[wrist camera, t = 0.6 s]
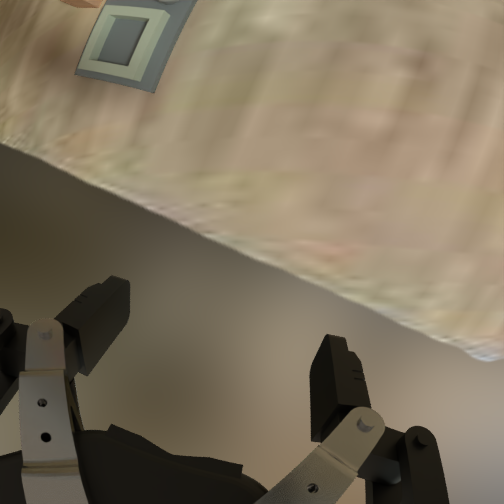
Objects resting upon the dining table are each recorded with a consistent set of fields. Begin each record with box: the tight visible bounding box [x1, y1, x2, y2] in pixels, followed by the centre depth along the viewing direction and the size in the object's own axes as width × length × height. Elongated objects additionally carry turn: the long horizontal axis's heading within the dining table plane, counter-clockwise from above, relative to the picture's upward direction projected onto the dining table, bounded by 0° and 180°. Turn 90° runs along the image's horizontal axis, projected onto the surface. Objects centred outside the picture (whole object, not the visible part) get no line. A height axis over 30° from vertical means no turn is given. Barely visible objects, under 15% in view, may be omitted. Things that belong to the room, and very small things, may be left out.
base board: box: [74, 0, 197, 93], centre depth 27 cm, size 18×14×5 cm
